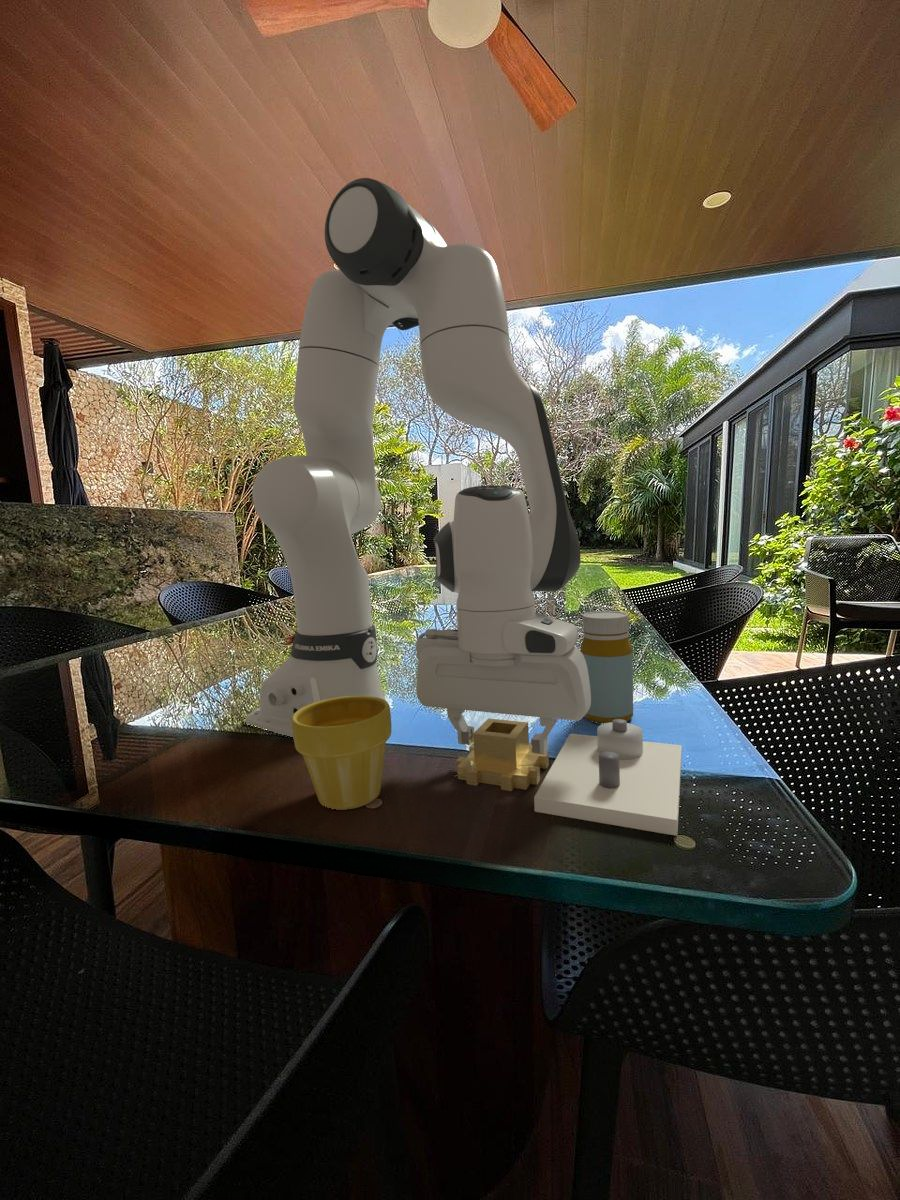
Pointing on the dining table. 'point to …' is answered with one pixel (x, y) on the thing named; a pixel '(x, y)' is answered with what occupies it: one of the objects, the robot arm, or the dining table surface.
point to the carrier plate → (619, 803)
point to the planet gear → (502, 756)
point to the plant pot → (344, 748)
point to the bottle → (608, 665)
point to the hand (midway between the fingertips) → (502, 747)
